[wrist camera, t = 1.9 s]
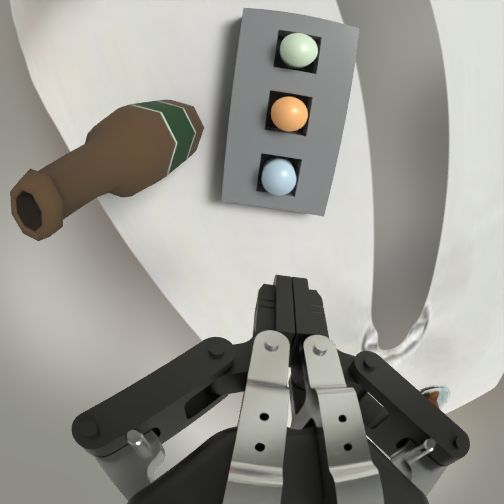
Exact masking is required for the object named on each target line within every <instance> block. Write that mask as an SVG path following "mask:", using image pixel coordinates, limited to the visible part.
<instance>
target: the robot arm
mask: <svg viewBox="0 0 504 504" xmlns="http://www.w3.org/2000/svg"><path fill="white" fill-rule="evenodd" d="M288 367H291V375H290V378H289V381H288V383H289V387H287V379H288ZM243 391H244V394H243V399H242V405H241V410H240V415H239V420H238V424H237V427H232V428H228V429H226V430H223V431H220V432H218V433H216V434H215V435H213V436H212V437H210V438H209V439H208V440H207V441H205V442H204V443H203V444H202V445H201V446H199V447H198V448H197V449H196V450H194V451H193V452H192V453H191V454H189V455H188V456H187V457H186V458H184V459H183V460H182V461H180V462H179V463H178V464H177V465H175V466H174V467H173V468H171V469H170V470H169V471H167V472H166V473H164V474H163V475H162V476H160V477H159V478H157V479H156V480H155V481H154V480H153V475H154V472H155V470H156V468H157V467H158V466H159V465H160V464H161V463H162V462H163V460H164V458H165V451H164V448H163V446H162V444H163V443H164V442H165V441H167V440H168V439H170V438H171V437H173V436H174V435H175V434H177V433H178V432H180V431H181V430H183V429H184V428H186V427H187V426H188V425H190V424H191V423H192V422H194V421H195V420H197V419H198V418H199V417H201V416H202V415H203V414H205V413H206V412H207V411H208V410H210V409H211V408H213V407H214V406H215V405H216V404H218V403H219V402H220V401H222V400H223V399H224V398H225V397H227V396H228V394H230V393H237V392H243ZM367 392H369V393H370V394H371V395H372V396H373V397H374V398H375V399H376V400H377V401H378V402H379V403H380V404H381V405H382V406H384V407H385V408H386V409H387V410H386V409H385V408H383V407H382V406H381V405H380V404H379V403H378V402H377V401H376V400H375V399H374V398H373V397H372V396H371V395H370V394H368V393H367ZM289 394H290V403H291V413H292V422H291V427H290V428H289V427H287V419H288V407H289ZM72 435H73V437H74V439H75V441H76V442H77V443H78V444H79V445H80V446H82V447H83V448H84V449H85V450H86V451H87V452H88V453H89V454H90V455H92V456H93V457H94V458H96V460H97V461H98V462H99V464H100V465H101V467H102V468H103V470H104V471H105V472H106V474H107V475H108V476H109V478H110V479H111V480H112V482H113V483H114V484H115V485H116V487H117V488H118V489H119V490H120V492H121V493H122V494H123V495H124V496H125V498H126V499H127V500H128V503H127V504H429V502H428V500H427V497H426V496H427V495H428V493H429V492H430V491H431V489H432V488H433V486H434V485H435V484H436V482H437V481H438V479H439V478H440V476H441V475H442V473H443V472H444V470H445V469H446V467H447V466H448V465H450V464H452V463H454V462H455V461H457V460H459V459H460V458H462V457H464V456H465V455H466V454H467V452H468V450H469V446H470V441H469V438H468V435H467V434H466V433H465V432H464V431H463V430H462V429H461V428H460V427H459V426H458V425H456V424H455V423H454V422H453V421H452V420H451V419H450V418H449V417H447V416H446V415H445V414H444V413H443V412H442V411H441V410H440V409H439V408H437V407H436V406H435V405H434V404H433V403H432V402H431V401H430V400H428V399H427V398H426V397H425V396H424V395H423V394H422V393H420V392H419V391H418V390H417V389H416V388H415V387H414V386H413V385H411V384H410V383H409V382H408V381H407V380H406V379H405V378H404V377H402V376H401V375H400V374H399V373H398V372H397V371H396V370H394V369H393V368H392V367H391V366H390V365H389V364H388V363H386V362H385V361H384V360H383V359H382V358H381V357H380V356H378V355H377V354H376V353H373V352H370V351H362V352H360V353H358V354H357V355H356V357H355V356H352V355H349V354H346V353H343V352H341V351H339V350H338V349H336V346H335V344H334V343H333V341H332V340H330V339H329V336H328V330H327V324H326V318H325V314H324V308H323V302H322V298H321V296H320V295H319V294H318V292H317V291H316V290H309V287H308V281H307V279H306V278H298V277H290V276H282V275H275V279H274V283H273V285H268V284H263V285H262V287H261V288H260V289H259V292H258V297H257V303H256V309H255V315H254V327H253V337H252V339H250V340H249V341H247V342H245V343H241V344H234V345H232V343H231V342H229V341H228V340H226V339H224V338H220V337H211V338H207V339H205V340H203V341H202V342H200V343H199V344H197V345H196V346H194V347H193V348H191V349H190V350H188V351H186V352H185V353H183V354H182V355H180V356H178V357H177V358H175V359H174V360H172V361H170V362H169V363H167V364H166V365H164V366H162V367H161V368H159V369H157V370H156V371H154V372H153V373H151V374H149V375H148V376H146V377H144V378H143V379H141V380H139V381H138V382H136V383H134V384H132V385H131V386H129V387H127V388H126V389H124V390H122V391H121V392H119V393H117V394H115V395H114V396H112V397H110V398H108V399H107V400H105V401H103V402H101V403H100V404H98V405H96V406H94V407H92V408H90V409H89V410H87V411H85V412H83V413H81V414H80V415H79V416H77V417H76V418H75V420H74V421H73V424H72ZM366 435H367V436H368V437H369V438H370V439H371V440H372V441H373V442H374V443H375V444H376V445H377V446H378V447H379V448H381V449H382V450H383V451H384V452H385V453H386V454H387V455H388V456H389V457H390V458H391V459H390V460H389V459H388V458H387V457H386V456H385V455H384V454H383V453H382V452H381V451H380V450H379V449H378V448H377V447H376V446H375V445H374V444H373V443H372V442H371V441H370V440H369V439H368V438H367V437H366Z"/></svg>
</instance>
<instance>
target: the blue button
mask: <svg viewBox="0 0 504 504" xmlns="http://www.w3.org/2000/svg"><path fill="white" fill-rule="evenodd" d="M262 184H263V186H264V188H265V189H266V190H267V191H268V192H269V193H271V194H273V195H285V194H287V193H289V192H290V191H291V190H292V189H293V188H294V186H295V184H296V174H295V171H294V168H293V165H292V163H291V162H290V161H289V160H288V159H286V158H284V157H273V158H271V159H269V160H268V161H267V162H266V163H265V164H264V166H263V171H262Z"/></svg>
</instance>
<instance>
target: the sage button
mask: <svg viewBox="0 0 504 504" xmlns="http://www.w3.org/2000/svg"><path fill="white" fill-rule="evenodd" d="M279 53H280V58H281V60H282V61H283V62H284V63H285V64H286V65H287V66H289V67H292V68H303V67H306V66H307V65H309V64H310V63H311V62H313V61H314V60H315V58H316V57H317V54H318V48H317V45H316V43H315V41H314V40H313V39H312V38H311V37H309V36H308V35H305V34H302V33H293V34H290V35H288V36H286V37H285V38H284V39H283V41H282V42H281V46H280V52H279Z"/></svg>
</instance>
